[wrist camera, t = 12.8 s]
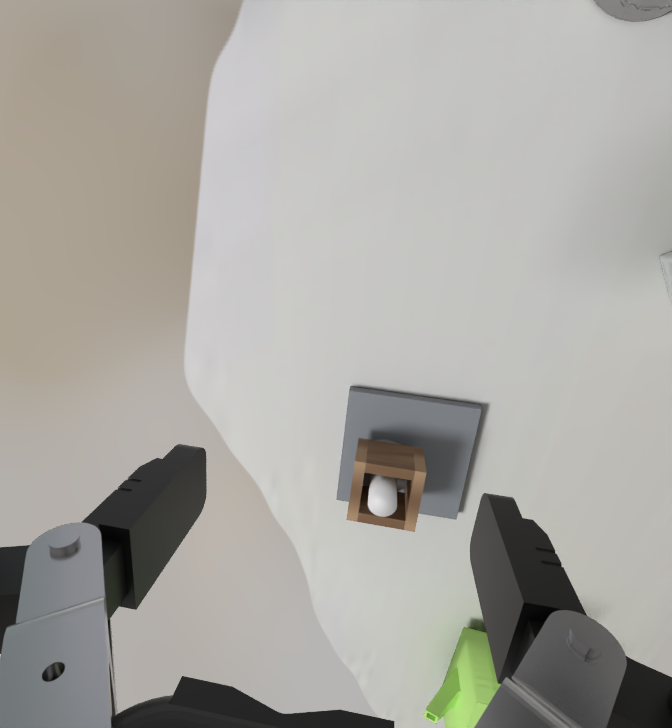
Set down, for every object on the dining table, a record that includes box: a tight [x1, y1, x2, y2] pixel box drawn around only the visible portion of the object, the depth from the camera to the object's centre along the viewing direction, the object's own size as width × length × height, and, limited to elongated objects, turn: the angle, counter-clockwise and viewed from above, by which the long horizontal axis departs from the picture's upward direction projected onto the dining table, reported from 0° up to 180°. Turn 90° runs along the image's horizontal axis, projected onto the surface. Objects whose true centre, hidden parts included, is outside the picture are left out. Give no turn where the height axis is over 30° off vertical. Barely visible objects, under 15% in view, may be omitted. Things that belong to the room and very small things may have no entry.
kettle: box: [423, 627, 501, 728], centre depth 47 cm, size 15×14×11 cm
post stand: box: [337, 386, 482, 519], centre depth 41 cm, size 13×13×8 cm
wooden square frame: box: [347, 438, 427, 532], centre depth 40 cm, size 6×6×4 cm
